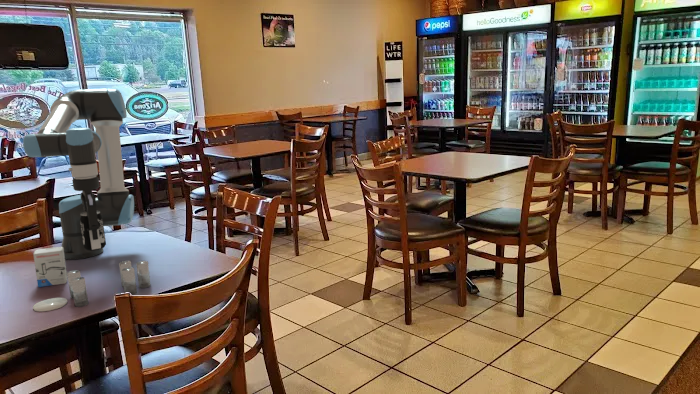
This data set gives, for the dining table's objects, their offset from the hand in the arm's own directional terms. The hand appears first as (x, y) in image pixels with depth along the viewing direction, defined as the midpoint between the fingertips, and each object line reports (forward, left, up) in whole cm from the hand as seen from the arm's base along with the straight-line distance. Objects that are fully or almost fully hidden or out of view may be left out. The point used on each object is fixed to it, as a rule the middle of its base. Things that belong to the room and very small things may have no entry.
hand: (94, 245), depth 170 cm
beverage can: (0, 0, -1) cm, 1 cm away
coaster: (+10, -15, -13) cm, 23 cm away
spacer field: (+11, +2, -13) cm, 18 cm away
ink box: (-11, -13, -14) cm, 22 cm away
